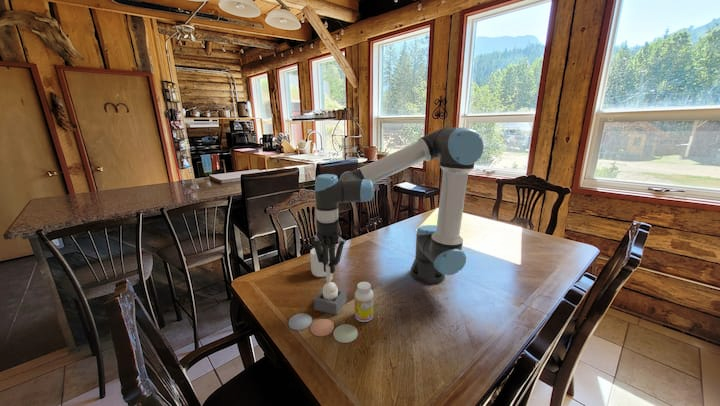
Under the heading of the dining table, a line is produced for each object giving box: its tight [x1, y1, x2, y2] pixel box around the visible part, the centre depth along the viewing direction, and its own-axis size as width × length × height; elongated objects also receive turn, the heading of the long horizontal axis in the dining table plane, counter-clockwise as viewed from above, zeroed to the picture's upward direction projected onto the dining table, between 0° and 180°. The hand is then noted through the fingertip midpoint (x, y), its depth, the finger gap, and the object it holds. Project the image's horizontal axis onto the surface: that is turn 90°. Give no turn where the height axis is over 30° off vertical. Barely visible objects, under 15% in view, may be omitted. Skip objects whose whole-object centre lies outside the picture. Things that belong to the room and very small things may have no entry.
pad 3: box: [332, 323, 359, 344], centre depth 94 cm, size 8×8×1 cm
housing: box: [313, 288, 347, 316], centre depth 107 cm, size 9×9×4 cm
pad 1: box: [288, 313, 313, 331], centre depth 99 cm, size 8×8×1 cm
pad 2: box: [309, 318, 335, 337], centre depth 96 cm, size 8×8×1 cm
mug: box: [310, 246, 337, 278], centre depth 130 cm, size 12×9×11 cm
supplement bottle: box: [354, 281, 375, 323], centre depth 100 cm, size 7×7×13 cm
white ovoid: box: [322, 281, 339, 301], centre depth 106 cm, size 6×6×7 cm
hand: (329, 279), depth 105 cm, fingers closed
